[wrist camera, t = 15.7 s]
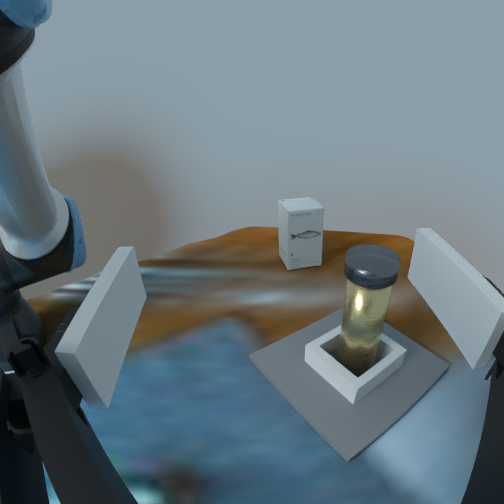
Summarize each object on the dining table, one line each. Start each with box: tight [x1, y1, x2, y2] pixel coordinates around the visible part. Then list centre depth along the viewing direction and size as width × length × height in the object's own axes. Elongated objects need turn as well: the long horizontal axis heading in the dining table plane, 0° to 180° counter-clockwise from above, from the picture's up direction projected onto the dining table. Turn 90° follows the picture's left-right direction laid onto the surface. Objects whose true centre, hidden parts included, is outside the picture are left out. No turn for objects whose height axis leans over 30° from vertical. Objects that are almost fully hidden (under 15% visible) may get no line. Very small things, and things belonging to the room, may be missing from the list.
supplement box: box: [278, 197, 324, 270], centre depth 63 cm, size 7×7×13 cm
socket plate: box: [249, 307, 450, 462], centre depth 37 cm, size 20×20×4 cm
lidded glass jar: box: [336, 244, 400, 378], centre depth 34 cm, size 6×6×16 cm
